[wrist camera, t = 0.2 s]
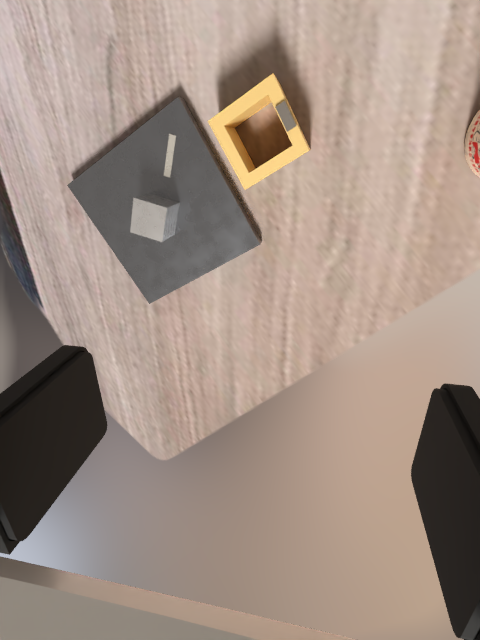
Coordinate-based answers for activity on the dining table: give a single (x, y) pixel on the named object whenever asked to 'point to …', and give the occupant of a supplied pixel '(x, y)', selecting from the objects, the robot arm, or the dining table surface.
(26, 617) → the robot arm
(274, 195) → the dining table surface
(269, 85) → the collar
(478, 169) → the teacup with lid
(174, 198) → the post plate
